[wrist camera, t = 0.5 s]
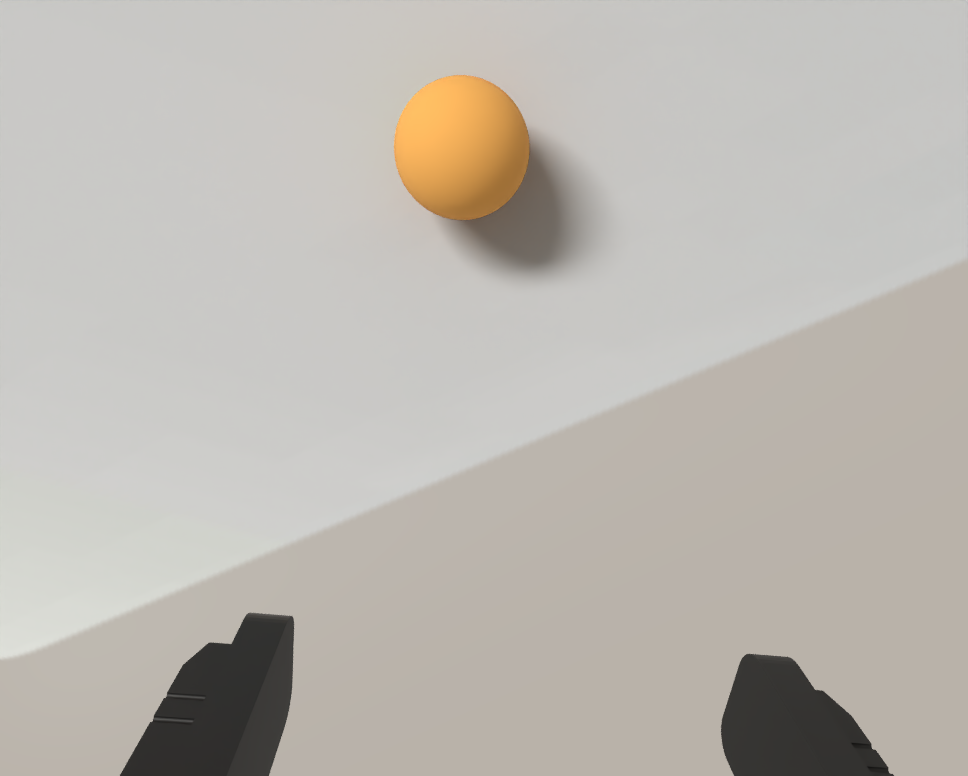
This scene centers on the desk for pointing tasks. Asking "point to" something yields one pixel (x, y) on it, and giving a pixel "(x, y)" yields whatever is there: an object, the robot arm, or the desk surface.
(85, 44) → the desk surface
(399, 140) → the ball
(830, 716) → the robot arm
